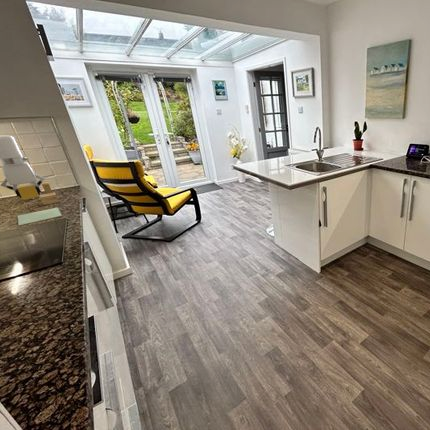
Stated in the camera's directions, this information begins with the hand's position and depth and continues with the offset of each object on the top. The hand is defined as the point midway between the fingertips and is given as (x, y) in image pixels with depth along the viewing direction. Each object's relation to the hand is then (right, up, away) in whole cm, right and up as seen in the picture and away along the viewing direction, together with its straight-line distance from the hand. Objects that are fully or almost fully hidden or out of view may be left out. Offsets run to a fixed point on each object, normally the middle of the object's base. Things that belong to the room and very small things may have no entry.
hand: (30, 195), depth 137 cm
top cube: (0, -1, 0) cm, 1 cm away
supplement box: (-26, +1, +36) cm, 45 cm away
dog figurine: (-39, +1, +38) cm, 54 cm away
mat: (0, -11, +4) cm, 12 cm away
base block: (-17, -2, +27) cm, 31 cm away
